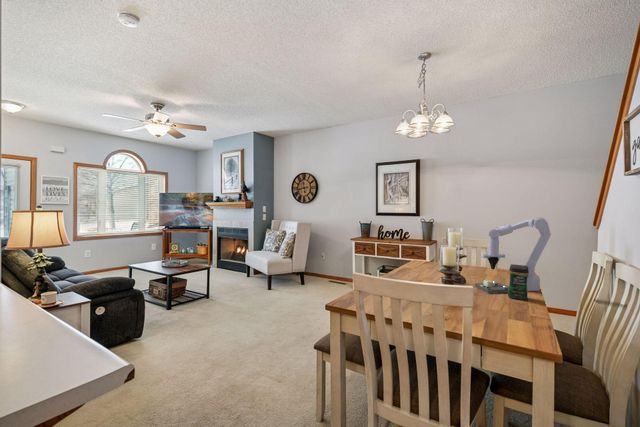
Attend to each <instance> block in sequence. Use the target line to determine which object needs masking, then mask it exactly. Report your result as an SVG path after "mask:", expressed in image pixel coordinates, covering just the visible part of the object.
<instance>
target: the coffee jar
mask: <svg viewBox="0 0 640 427" xmlns="http://www.w3.org/2000/svg"><path fill="white" fill-rule="evenodd" d="M523 265H524V264H510V266H509V269H508V273H509V283H508V287H509V288H508V293H507V297H509V299H516V300H528V297H529V296H528V293H529V292H528V291H527V277H528V275H529V270H528V266H523Z"/></svg>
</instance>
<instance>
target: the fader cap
mask: <svg viewBox="0 0 640 427" xmlns="http://www.w3.org/2000/svg"><path fill="white" fill-rule="evenodd" d="M483 283H484V286H486V287H491V283H492V281H491V280H487V279H484V280H483Z"/></svg>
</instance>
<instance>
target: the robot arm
mask: <svg viewBox="0 0 640 427" xmlns="http://www.w3.org/2000/svg"><path fill="white" fill-rule="evenodd" d="M526 227H527V228H529V227H530V228H535V229H536V230H538V233H539V235H540V236H539V238H538V239H537V242H536V244H535V246H534V247H533V249H532V252H531V253H530V256H529V257H528V258H527V261H526V262H524V263H523V264H522V265H523V266H528V270H529V275H528V277H527V292H531V291H532V292H534V291H535V292H537V291H539V292H540V291H541V289H540V287H541V278H540V276H539V275H537V274H535V272H536V271H535V270H536V269H535V268H536V266H537V264H538V261H539V260H540V257H541V256H542V253H543V251H544V249H545V247H546V245H547V244H548V242H549V239H550V238H551V234H552V233H551V231H550V225H549V223H548V221H547V220H546V219H545V218H544V217H542V216H540V217H536V218H530V219H526V220H523V221H520V222H517V223H515V224H512V225H511V224H508V223H507V224H506V223H504V224H503V225H501V226H495V228H491V230H489V231H488V236H489V237H488V238H489V240H488V253H485V254H483V253H482V254H481V259H487V260H488V262H489V266H490V269H491V270H496V267H497V263H499V261H500V259H501V258H503V259H504V258H506V254H504V253H499V252H500V240H499V239H500V238H499V237H503V236H506V235H510V234H512V233H513V232H514V231H515V230H519V229H523V228H526Z"/></svg>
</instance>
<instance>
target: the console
mask: <svg viewBox="0 0 640 427" xmlns="http://www.w3.org/2000/svg"><path fill="white" fill-rule="evenodd" d="M474 288H477V289H479V290H480V291H481V290H482V291H483V292H485V293H486V294H508V288H509V285H505V284H503V283H501V282H498V280H494V281H493V282H491V287H486V286H484V282H481V283H480V282H479V283H478V282H477V283H474Z"/></svg>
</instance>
